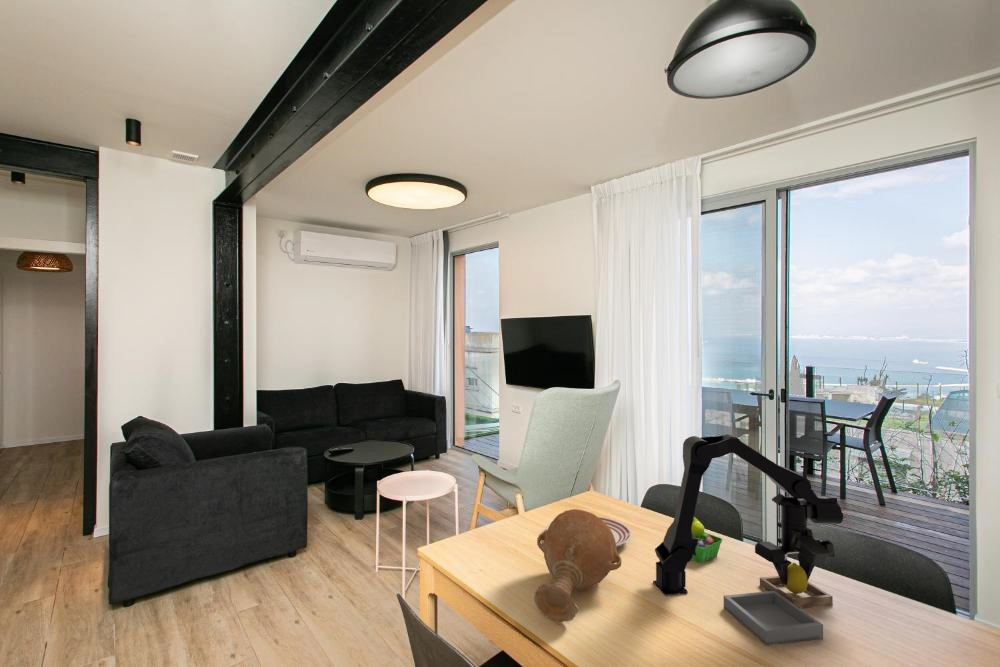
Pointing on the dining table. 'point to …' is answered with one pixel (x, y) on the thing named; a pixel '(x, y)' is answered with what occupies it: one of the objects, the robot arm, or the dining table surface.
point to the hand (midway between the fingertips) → (794, 583)
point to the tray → (773, 618)
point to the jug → (574, 560)
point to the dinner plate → (615, 530)
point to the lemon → (796, 579)
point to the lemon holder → (817, 600)
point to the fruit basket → (704, 543)
